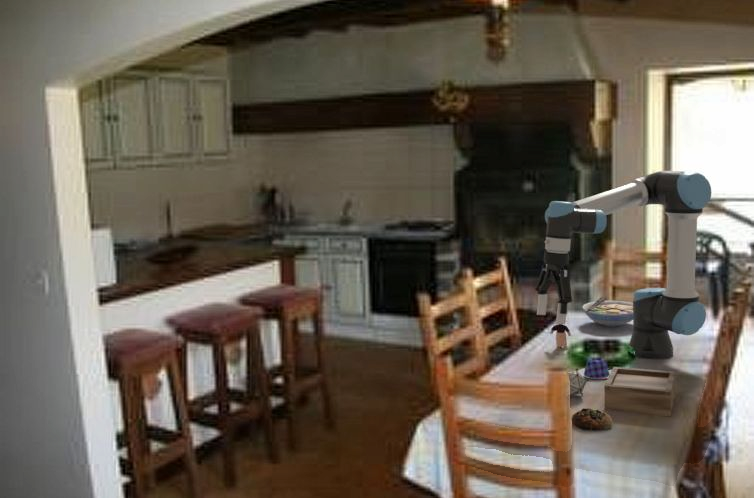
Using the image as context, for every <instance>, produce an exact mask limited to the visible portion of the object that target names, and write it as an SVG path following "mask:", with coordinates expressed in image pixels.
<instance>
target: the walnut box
mask: <svg viewBox="0 0 754 498" xmlns="http://www.w3.org/2000/svg"><path fill="white" fill-rule="evenodd" d="M611 370H612V371H611V373H610V374H609V375H608V376H609V377H608V378H606V379H607V380H606V381H605V384H604V388H603V389H604V410H606V411H617V412H626V413H633V414H634V413H635V414H644V415H646V414H647V415H655V416H662V417H663V416H665V417H671V416H672V411H673V407H674V402H675V399H676V398H675V397H676V371H671V370H670V371H668V370H655V369H645V368H643V369H642V368H633V367H621V366H620V367H619V366H612V369H611Z"/></svg>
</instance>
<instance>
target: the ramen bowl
mask: <svg viewBox="0 0 754 498" xmlns="http://www.w3.org/2000/svg"><path fill="white" fill-rule="evenodd" d="M582 310H583V312H584V313H585V314H586V316H587V317H588V318H589V319H590V320H591V321H592V322H594V323H597V324H600V325H602V326H603V325H604V326H603V327H607V326H618V327H620V326H623V325H625V324H628V323H630V322H633V302H630V301H629V302H628V301H621V300H607V296H606V297H604V298H603V297H602V296H601V297H599V298H598V299H597V300H596V301H591V302H587V303H584V304H583V305H582ZM619 325H620V326H619Z"/></svg>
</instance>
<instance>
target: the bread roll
mask: <svg viewBox="0 0 754 498" xmlns="http://www.w3.org/2000/svg"><path fill="white" fill-rule="evenodd" d="M571 422H572V425H573V426H574V427H576V428H578V429H581V430H583V431H589V432H590V431H592V432H593V431H595V432H596V431H602V430H607V429H610V428H611V427H612V426H613V420H612V418H611V416H610V415H609V414H607V413H606V412H605V411H603V412H602V411H601V410H599V409H592V408H584V407H583V408H582V409H581V410H578V411H576V412H575V413H574V414H572V416H571Z"/></svg>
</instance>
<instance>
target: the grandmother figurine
mask: <svg viewBox="0 0 754 498" xmlns="http://www.w3.org/2000/svg"><path fill="white" fill-rule="evenodd" d="M554 321H555V322H556V319H555V320H554ZM555 331H556V334H555V342H556V347H555V349H556V350H561V349H562V350H564V351H565V350H569V349H568V348H569V346H568V343H567V335H568V337H571V336H572V333H571V331H570V329H569V327H568V326H567V325H566V324H555V325H553V326H552V327H551V330H550V335H553V333H554V332H555Z"/></svg>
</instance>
